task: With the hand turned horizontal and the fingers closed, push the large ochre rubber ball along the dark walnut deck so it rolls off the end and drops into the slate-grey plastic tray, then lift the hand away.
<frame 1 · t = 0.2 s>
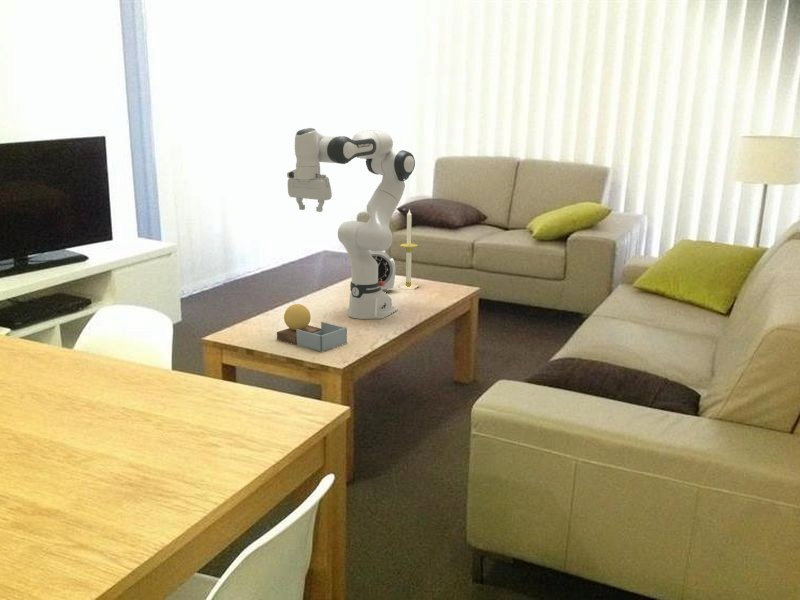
hand: (310, 210, 302), 47 cm above the table, tool pointing down, fingers open, 8 cm apart
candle: (408, 287, 385), on the table
ball: (297, 317, 304), point 8 cm above the table, touching deck
deck: (299, 337, 306), on the table
tray: (321, 344, 299), on the table
alarm clock: (375, 291, 376), on the table
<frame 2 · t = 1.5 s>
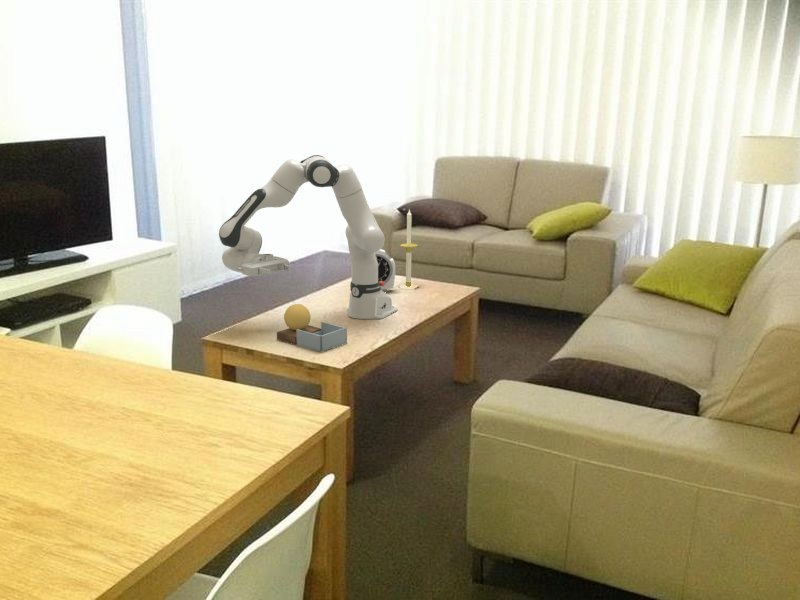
hand: (279, 270, 305), 25 cm above the table, tool horizontal, fingers open, 8 cm apart
nothing on the table moved.
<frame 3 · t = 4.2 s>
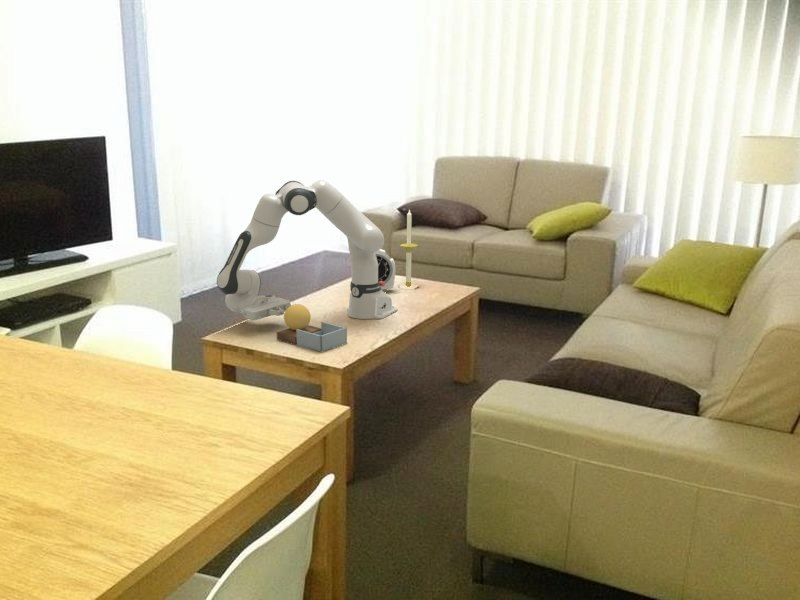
hand: (281, 313, 310), 8 cm above the table, tool horizontal, fingers closed
nothing on the table moved.
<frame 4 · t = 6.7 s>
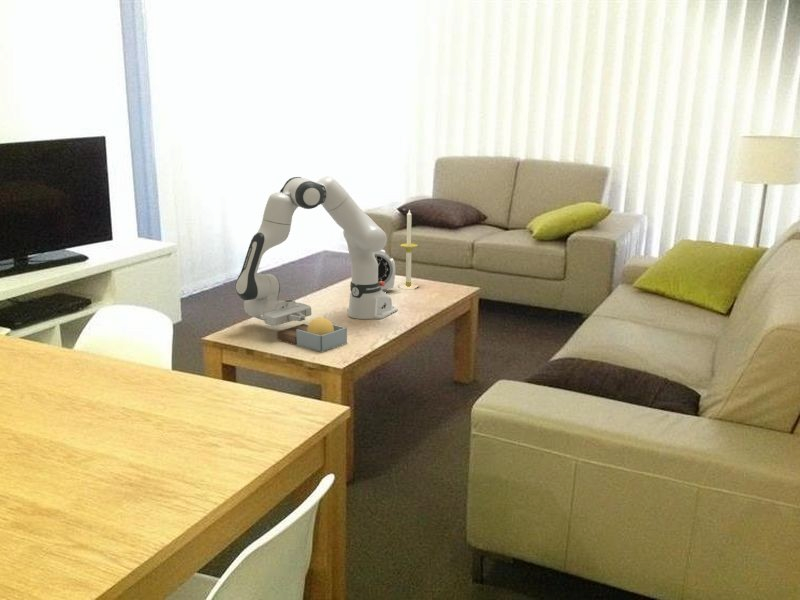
hand: (302, 318, 303), 8 cm above the table, tool horizontal, fingers closed
ball: (320, 331, 296), point 5 cm above the table, tilted 163°, touching tray
everything else where it was.
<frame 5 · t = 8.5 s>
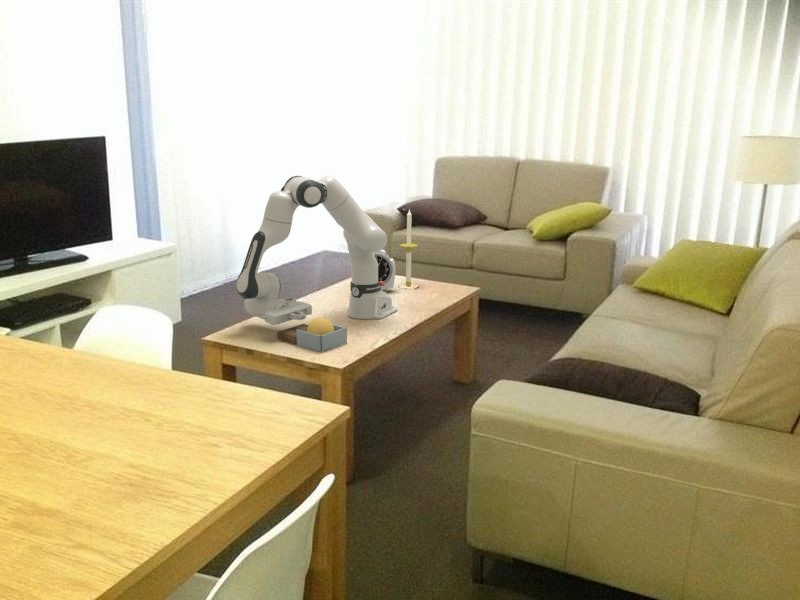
hand: (303, 317, 303), 9 cm above the table, tool horizontal, fingers closed
nothing on the table moved.
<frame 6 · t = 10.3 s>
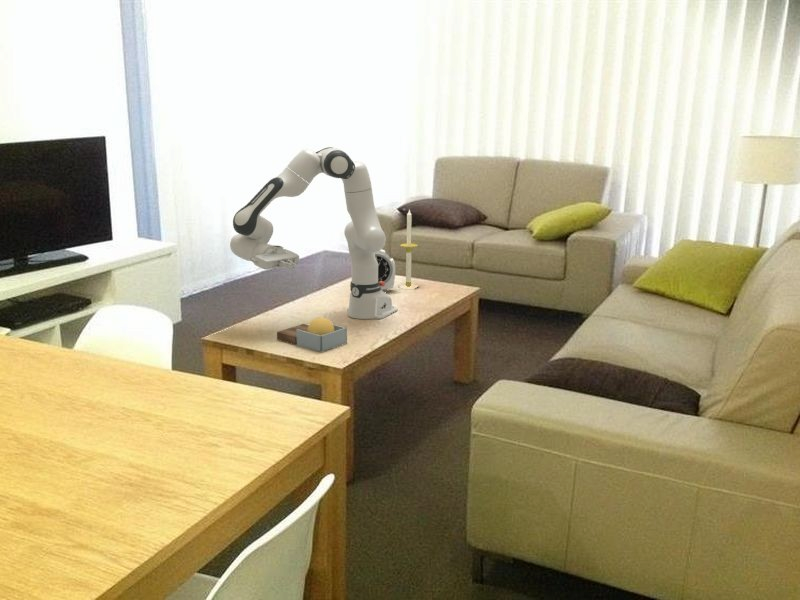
hand: (293, 266, 304), 27 cm above the table, tool horizontal, fingers closed
nothing on the table moved.
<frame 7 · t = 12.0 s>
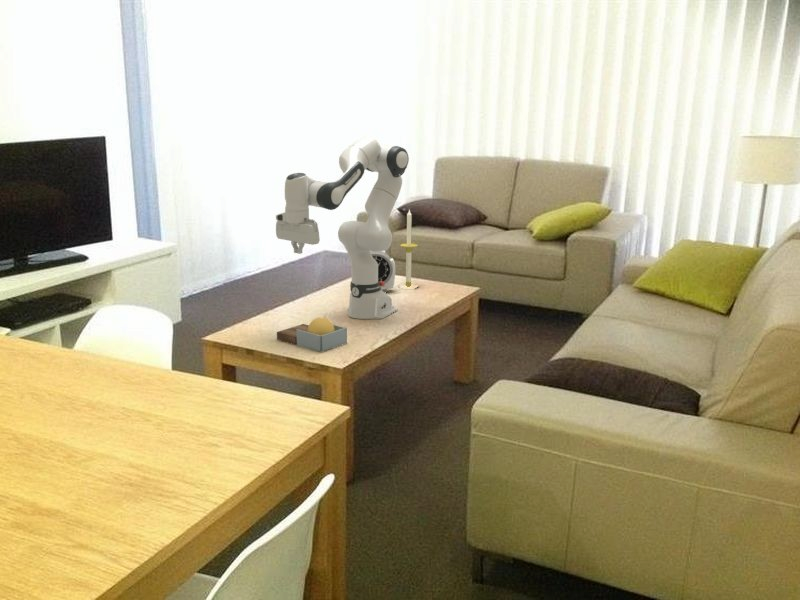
hand: (298, 253, 306), 31 cm above the table, tool pointing down, fingers closed
nothing on the table moved.
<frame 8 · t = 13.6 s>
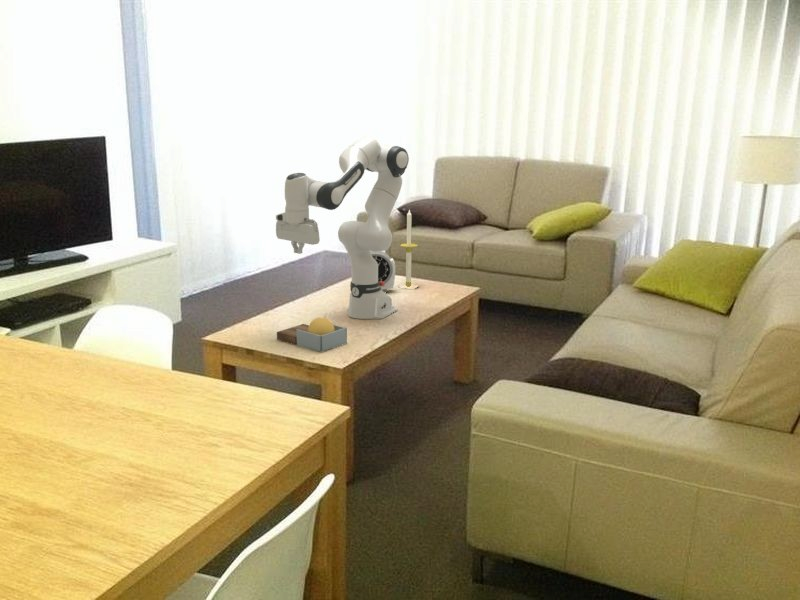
hand: (298, 253, 306), 31 cm above the table, tool pointing down, fingers closed
nothing on the table moved.
at the end: ball inside the target area (0.9 cm from its centre), point 5.4 cm above the table; ball point 5.4 cm above the table; ball touching tray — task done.
